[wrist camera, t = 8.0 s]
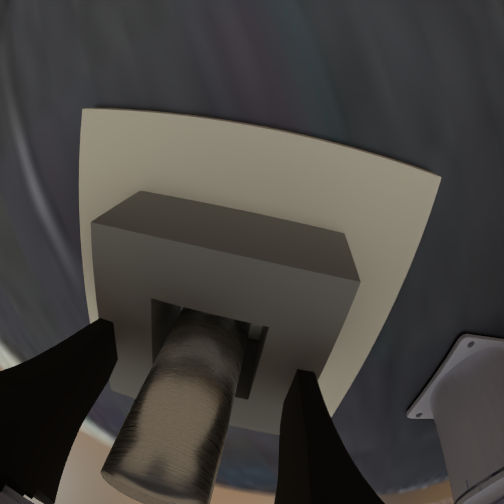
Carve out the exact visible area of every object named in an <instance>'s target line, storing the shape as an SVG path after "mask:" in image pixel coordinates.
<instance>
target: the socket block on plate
mask: <svg viewBox="0 0 504 504" xmlns="http://www.w3.org/2000/svg"><path fill="white" fill-rule="evenodd" d="M440 181H441V177H440V176H438V175H436V174H434V173H433V172H430V171H427V170H424V169H421V168H419V167H416V166H413V165H410V164H407V163H404V162H401V161H398V160H395V159H391V158H388V157H385V156H382V155H379V154H375V153H372V152H369V151H365V150H362V149H358V148H354V147H351V146H347V145H343V144H340V143H336V142H332V141H328V140H324V139H320V138H316V137H312V136H307V135H303V134H299V133H294V132H289V131H285V130H280V129H275V128H270V127H265V126H259V125H254V124H248V123H243V122H237V121H231V120H224V119H218V118H211V117H203V116H196V115H188V114H179V113H170V112H159V111H148V110H135V109H118V108H84V109H83V110H82V122H81V136H80V157H79V214H80V236H81V250H82V262H83V273H84V282H85V290H86V298H87V305H88V312H89V319H90V324H91V323H92V322H94V321H96V320H97V319H99V318H102V319H105V320H108V321H111V322H113V323H114V332H115V340H116V347H117V355H118V360H117V363H116V365H115V367H114V370H113V372H112V374H111V376H110V378H109V381H110V386H111V390H112V391H115V392H118V393H120V394H123V395H126V396H129V397H131V398H134V399H136V397H137V395H138V393H139V391H140V389H141V387H142V385H143V383H144V381H145V379H146V377H147V375H148V373H149V371H150V370H151V368H152V366H153V364H154V362H155V360H156V358H157V356H158V354H159V352H160V350H161V348H162V346H163V344H164V342H165V341H166V339H167V337H168V335H169V333H170V331H171V329H172V327H173V325H174V323H175V322H176V320H177V318H178V316H179V314H180V312H181V310H182V308H183V307H186V308H190V309H194V310H198V311H202V312H206V313H210V314H214V315H218V316H222V317H226V318H231V319H235V320H239V321H244V322H248V323H251V326H250V331H249V336H248V340H247V345H246V349H245V354H244V358H243V363H242V367H241V372H240V376H239V381H238V385H237V390H236V394H235V398H234V403H233V407H232V412H231V416H230V420H229V426H234V427H239V428H243V429H248V430H254V431H259V432H265V433H270V434H276V435H280V422H281V415H282V409H283V402H284V400H285V397H286V395H287V393H288V390H289V388H290V386H291V383H292V381H293V379H294V376H295V374H296V371H297V369H300V370H306V371H312V372H314V373H315V374H316V377H317V381H318V384H319V387H320V390H321V393H322V396H323V399H324V401H325V404H326V407H327V409H328V412H329V414H330V416H331V417H332V415H333V414H334V412H335V411H336V409H337V407H338V406H339V404H340V403H341V401H342V399H343V398H344V396H345V394H346V393H347V391H348V389H349V388H350V386H351V384H352V383H353V381H354V379H355V377H356V376H357V374H358V372H359V370H360V369H361V367H362V365H363V363H364V361H365V360H366V358H367V356H368V354H369V352H370V350H371V348H372V346H373V345H374V343H375V341H376V339H377V337H378V335H379V333H380V331H381V329H382V327H383V325H384V323H385V321H386V319H387V317H388V315H389V312H390V310H391V308H392V306H393V304H394V302H395V300H396V297H397V295H398V293H399V291H400V289H401V286H402V284H403V282H404V279H405V277H406V275H407V272H408V270H409V268H410V265H411V263H412V260H413V258H414V255H415V253H416V250H417V248H418V245H419V242H420V240H421V237H422V234H423V232H424V229H425V226H426V223H427V221H428V218H429V215H430V212H431V209H432V206H433V203H434V200H435V197H436V194H437V191H438V187H439V184H440Z"/></svg>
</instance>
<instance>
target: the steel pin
mask: <svg viewBox="0 0 504 504" xmlns="http://www.w3.org/2000/svg"><path fill="white" fill-rule="evenodd" d="M250 326H251V323H248V322H244V321H239V320H235V319H231V318H226V317H222V316H218V315H214V314H210V313H206V312H202V311H198V310H194V309H190V308H186V307H183V308H182V310H181V312H180V314H179V316H178V318H177V320H176V322H175V323H174V325H173V327H172V329H171V331H170V333H169V335H168V337H167V339H166V341H165V342H164V344H163V346H162V348H161V350H160V352H159V354H158V356H157V358H156V360H155V362H154V364H153V366H152V368H151V370H150V371H149V373H148V375H147V377H146V379H145V381H144V383H143V385H142V387H141V389H140V391H139V393H138V395H137V397H136V399H135V401H134V403H133V405H132V407H131V409H130V411H129V413H128V415H127V417H126V419H125V421H124V424H123V426H122V428H121V430H120V432H119V434H118V436H117V438H116V440H115V442H114V444H113V446H112V448H111V450H110V453H109V455H108V457H107V459H106V461H105V463H104V466H103V467H102V470H101V475H102V477H103V478H104V479H105V480H106V482H108V483H109V484H110V485H111V486H113V487H114V488H115V489H117V490H118V491H120V492H121V493H123V494H125V495H127V496H128V497H130V498H132V499H134V500H136V501H139V502H141V503H143V504H210V501H211V497H212V493H213V488H214V484H215V480H216V476H217V472H218V467H219V463H220V459H221V455H222V450H223V446H224V442H225V438H226V433H227V429H228V425H229V420H230V416H231V412H232V407H233V403H234V398H235V394H236V390H237V385H238V381H239V376H240V372H241V367H242V363H243V358H244V354H245V349H246V345H247V340H248V336H249V331H250Z"/></svg>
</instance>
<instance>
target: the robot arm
mask: <svg viewBox="0 0 504 504" xmlns="http://www.w3.org/2000/svg"><path fill="white" fill-rule="evenodd" d="M117 360H118V355H117V347H116V340H115V332H114V323H113V322H111V321H108V320H105V319H102V318H99V319H97V320H96V321H94V322H92V323H91V324H89V325H88V326H86V327H85V328H83V329H81V330H80V331H78V332H77V333H75V334H74V335H72V336H70V337H69V338H67V339H66V340H64V341H62V342H61V343H59V344H57V345H56V346H54V347H52V348H50V349H49V350H47V351H45V352H43V353H41V354H40V355H38V356H36V357H34V358H32V359H30V360H28V361H25V362H23V363H21V364H19V365H16V366H14V367H11V368H8V369H5V370H3V371H0V504H34V503H32V502H31V501H29V500H27V499H26V498H24V497H23V496H24V494H25V495H27V496H28V497H29V498H31V499H32V498H33V497H34V498H36V499H37V500H39V501H41V502H42V503H44V504H54V503H55V499H56V495H57V491H58V487H59V483H60V479H61V476H62V473H63V470H64V467H65V463H66V461H67V458H68V455H69V453H70V450H71V447H72V445H73V442H74V440H75V438H76V436H77V433H78V431H79V429H80V427H81V425H82V423H83V421H84V419H85V418H86V416H87V414H88V413H89V411H90V410H91V408H92V406H93V405H94V403H95V401H96V400H97V398H98V397H99V395H100V393H101V392H102V390H103V389H104V387H105V385H106V384H107V382H108V380H109V378H110V376H111V374H112V372H113V370H114V367H115V365H116V363H117ZM407 417H408V418H414V419H434V421H435V424H436V428H437V431H438V435H439V439H440V443H441V447H442V451H443V455H444V459H445V463H446V467H447V472H448V476H449V481H450V485H451V490H452V496H453V501H454V504H504V339H500V338H493V337H486V336H478V335H472V334H464V335H462V336H460V337H459V339H458V340H457V342H456V343H455V345H454V346H453V348H452V350H451V351H450V353H449V354H448V356H447V357H446V359H445V360H444V362H443V363H442V365H441V366H440V368H439V369H438V371H437V372H436V374H435V375H434V376H433V378H432V379H431V381H430V382H429V383H428V385H427V386H426V388H425V389H424V390H423V392H422V393H421V394H420V396H419V397H418V398H417V399H416V401H415V402H414V403H413V405H412V406H411V407H410V408H409V410H408V411H407ZM274 504H385V503H384V502H383V501H382V500H381V499H380V498H379V497H378V495H377V494H376V493H375V492H374V490H373V489H372V488H371V486H370V485H369V484H368V482H367V481H366V480H365V479H364V477H363V476H362V474H361V473H360V471H359V470H358V468H357V467H356V465H355V464H354V462H353V460H352V459H351V457H350V455H349V454H348V452H347V450H346V448H345V446H344V444H343V442H342V440H341V438H340V436H339V434H338V432H337V430H336V428H335V426H334V424H333V421H332V419H331V416H330V414H329V412H328V409H327V407H326V404H325V401H324V399H323V396H322V393H321V390H320V387H319V384H318V381H317V377H316V374H315V373H314V372H312V371H306V370H300V369H297V371H296V374H295V376H294V379H293V381H292V383H291V386H290V388H289V390H288V393H287V395H286V397H285V400H284V402H283V409H282V415H281V422H280V438H279V467H278V483H277V490H276V496H275V503H274Z"/></svg>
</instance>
